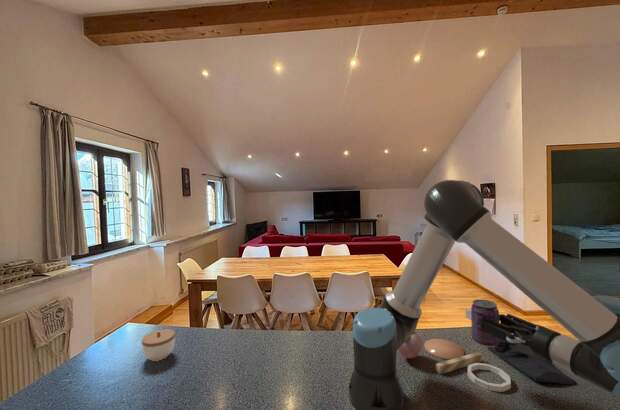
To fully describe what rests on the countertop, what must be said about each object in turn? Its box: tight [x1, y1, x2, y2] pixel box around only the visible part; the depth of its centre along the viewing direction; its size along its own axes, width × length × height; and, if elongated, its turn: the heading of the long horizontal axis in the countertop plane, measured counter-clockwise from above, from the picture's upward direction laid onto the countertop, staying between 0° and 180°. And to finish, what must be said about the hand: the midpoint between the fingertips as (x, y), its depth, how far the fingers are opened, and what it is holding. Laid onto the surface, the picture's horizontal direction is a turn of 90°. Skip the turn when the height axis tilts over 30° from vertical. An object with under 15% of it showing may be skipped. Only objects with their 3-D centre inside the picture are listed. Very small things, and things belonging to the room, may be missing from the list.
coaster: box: [424, 338, 465, 361], centre depth 102 cm, size 13×13×1 cm
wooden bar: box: [435, 351, 483, 375], centre depth 92 cm, size 18×2×2 cm, turn 110°
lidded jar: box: [141, 328, 176, 362], centre depth 102 cm, size 11×11×9 cm
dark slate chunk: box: [487, 339, 577, 385], centre depth 92 cm, size 15×22×5 cm
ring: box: [466, 362, 512, 393], centre depth 85 cm, size 11×12×2 cm
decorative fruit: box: [397, 330, 423, 360], centre depth 97 cm, size 9×8×10 cm
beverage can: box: [470, 299, 500, 347], centre depth 85 cm, size 7×7×12 cm
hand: (473, 311), depth 90 cm, fingers closed on beverage can, 5 cm apart
